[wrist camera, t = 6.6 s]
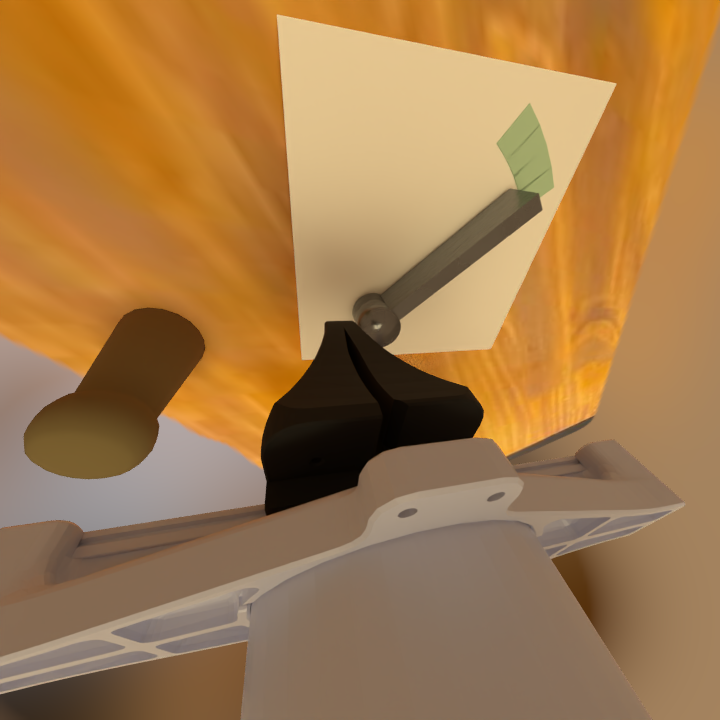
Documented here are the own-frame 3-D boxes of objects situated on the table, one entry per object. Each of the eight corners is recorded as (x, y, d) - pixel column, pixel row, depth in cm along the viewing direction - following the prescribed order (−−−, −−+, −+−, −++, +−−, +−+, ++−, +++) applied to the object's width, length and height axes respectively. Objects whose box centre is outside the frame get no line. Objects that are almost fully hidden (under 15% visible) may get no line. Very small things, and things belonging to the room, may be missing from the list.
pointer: (367, 333, 23) (376, 354, 21) (344, 310, 22) (351, 331, 19) (518, 215, 20) (550, 224, 17) (506, 174, 18) (540, 178, 15)
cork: (173, 297, 19) (82, 408, 11) (219, 357, 23) (177, 473, 15) (96, 321, 19) (-56, 451, 11) (154, 377, 23) (76, 505, 15)
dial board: (485, 343, 29) (491, 349, 28) (301, 353, 25) (301, 360, 24) (601, 86, 17) (618, 83, 16) (277, 22, 13) (276, 13, 12)
